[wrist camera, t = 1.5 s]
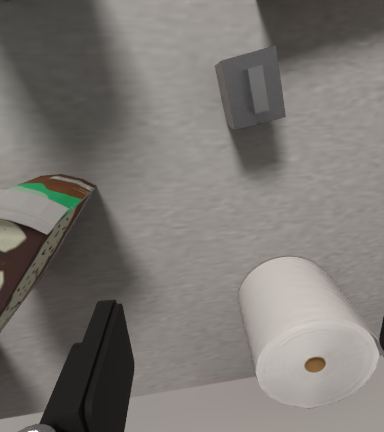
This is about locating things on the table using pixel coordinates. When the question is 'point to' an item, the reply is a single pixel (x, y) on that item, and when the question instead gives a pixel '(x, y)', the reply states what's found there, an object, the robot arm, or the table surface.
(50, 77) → the table surface
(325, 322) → the toilet tissue
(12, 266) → the food container
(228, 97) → the grey ridged block
